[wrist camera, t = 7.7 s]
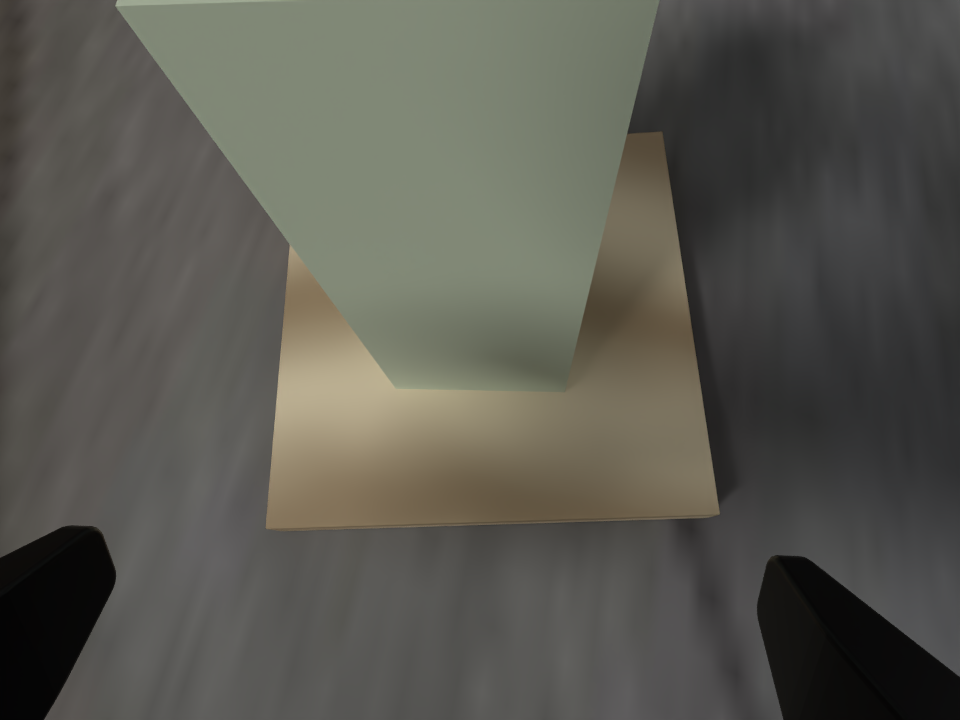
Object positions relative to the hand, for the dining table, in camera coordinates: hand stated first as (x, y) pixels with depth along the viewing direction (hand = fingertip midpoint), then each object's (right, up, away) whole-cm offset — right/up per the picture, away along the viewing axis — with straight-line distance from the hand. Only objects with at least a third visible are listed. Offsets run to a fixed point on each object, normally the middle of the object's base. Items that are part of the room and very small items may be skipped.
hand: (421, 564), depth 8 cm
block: (+1, +4, +10) cm, 11 cm away
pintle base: (+1, +4, +11) cm, 12 cm away
